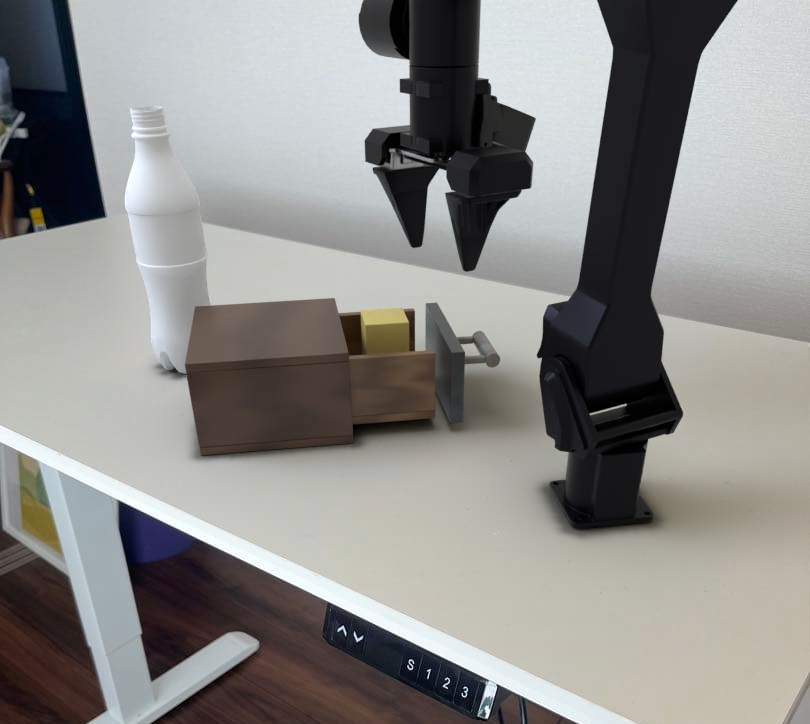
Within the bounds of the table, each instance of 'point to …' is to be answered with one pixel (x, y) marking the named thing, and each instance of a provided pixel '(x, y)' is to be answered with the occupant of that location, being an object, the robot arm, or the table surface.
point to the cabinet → (269, 376)
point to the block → (384, 331)
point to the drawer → (412, 371)
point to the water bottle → (166, 236)
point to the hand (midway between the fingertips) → (441, 258)
